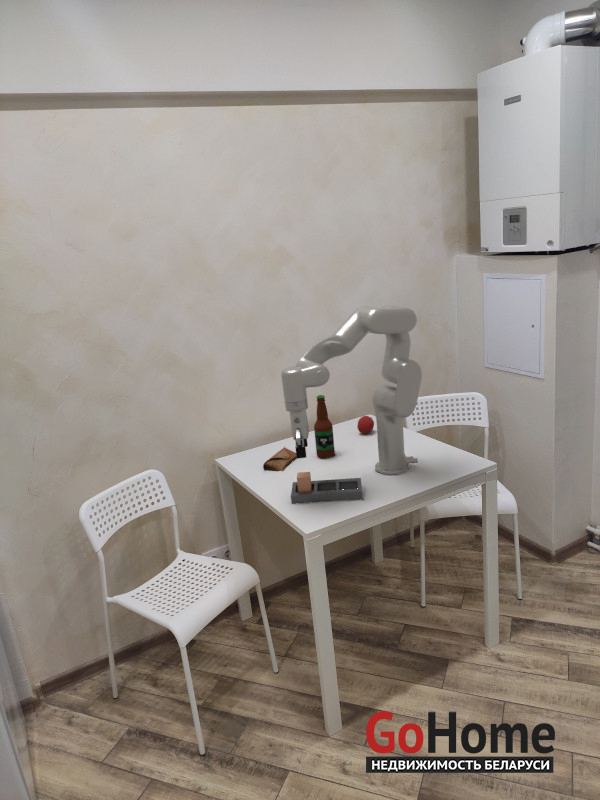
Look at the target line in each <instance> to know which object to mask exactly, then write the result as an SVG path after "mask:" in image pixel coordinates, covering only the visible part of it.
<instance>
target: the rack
mask: <svg viewBox="0 0 600 800" xmlns="http://www.w3.org/2000/svg"><path fill="white" fill-rule="evenodd" d="M311 486H312V492H298V485H297V481H293V482H292V485H291V492H290V500H291V501H290V502H291V504H292V505H293V504H294V505H296V503H298V504H309V503H311V502H312V503H313V504H314V503H328V502H342V501H343V502H346V501H358V500H360V499H362V500H363V499H364V498H363V486H362V477H353V478H351V477H350V478H349V477H348V478H337V479H334V478H333V479H323V480H321V479H320V480H311ZM357 488H358V489H357ZM342 489H344V490H342ZM312 503H311V504H312Z"/></svg>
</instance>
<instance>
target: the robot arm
mask: <svg viewBox="0 0 600 800" xmlns="http://www.w3.org/2000/svg"><path fill="white" fill-rule="evenodd" d="M416 314H417V313H416V312H414V310H412V309H411V308H409V307H404V306H398V305H397V306H395V305H390V304H389V305H382V306H380V307H373V306H365V305H364V306H363V305H362V306H360V307H357V308H356V309H354V311H353V312H352V313H351V314H350V315H349V316H348V317H347V318H346V319H345V320H344V321H343V322H342V323H341V325H340V326H339V327H338V328H337V329H336V330H335V331H334V332H333V333H332V334H331V335H330V336H328V337H326V338H324V339H323V340H321V341H319V342H318V343H316V344H315V345H313V346H312V347H311V348H309V349H308V350H307V351H306V352H305V353H304V354H303V356H301V358H300V359H299V360H298V361H297V363H296V365H295V366H290V367H289V366H288V367H286V368H284V369H282V370H281V382H282V390H283V396H284V397H283V398H284V404H285V405H284V406H285V411H286V412H289V417H290V418H289V419H290V427H291V432H292V438H293V440H294V441H295V453H296V456H297V458H296V459H305V458H307V451H306V447H308V438H309V435H310V429H309V423H308V421H309V420H308V414H307V409H308V408H309V403H308V394H307V392H308V391H307V388H318V387H322V386H324V385H326V384H327V382H329V380H330V378H331V377H330V376H331V375H330V374H331V373H330V370H329V369H328V368H327V367H326V366H325V365H324V364H325V363H326V362H327V361H329V360H330V359H334V358H336V357H340V356H344V355H347V354H349V353H352V351H353V350H354V349H355V348H356V347H357V346H358V344H359V343H360V342H361V341H362V340H363V339H364V338H365V337H366V336H367V335H368V334H369V333H370V334H375V335H385V340H386V343H385V349H384V355H383V356H384V357H383V361H382V367H381V375H382V379H384V380H386V381H387V382H389V383H393V384H396V386H392V385H389V384H383V385H380V386H378V387H377V388H376V389H375V390H374V391H373V394H372V407H373V410H374V415H375V421H376V422H375V423H376V433H377V434H376V437H377V451H378V453H377V454H378V462H376V463H375V465H374V468H375V471H376V472H378V473H380V474H383V475H398V474H403V473H406V472H407V471H408V470H410V464H418V462H419V460H418V457H414V456H407V455H406V454H405V437H404V435H405V434H404V421H403V419H406V418H408V417H410V416H411V415H412V414H413V413H414V412H415V410H416V407H417V405H418V400H419V394H420V390H421V384H422V380H423V371H422V368H421V366H420V364H419V363H418V362H417V361H415V360H413V359H410V351H411V336H410V332H411V331H413V330H414V328H415V327H416V326H417V322H418V321H417V320H418V318H417V315H416Z"/></svg>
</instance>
